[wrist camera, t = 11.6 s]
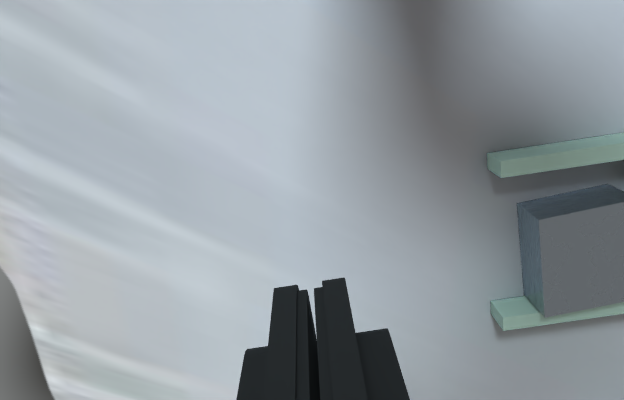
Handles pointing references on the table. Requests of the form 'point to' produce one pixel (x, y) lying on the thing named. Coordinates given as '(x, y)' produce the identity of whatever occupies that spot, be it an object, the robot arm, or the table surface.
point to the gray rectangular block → (573, 250)
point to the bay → (541, 160)
